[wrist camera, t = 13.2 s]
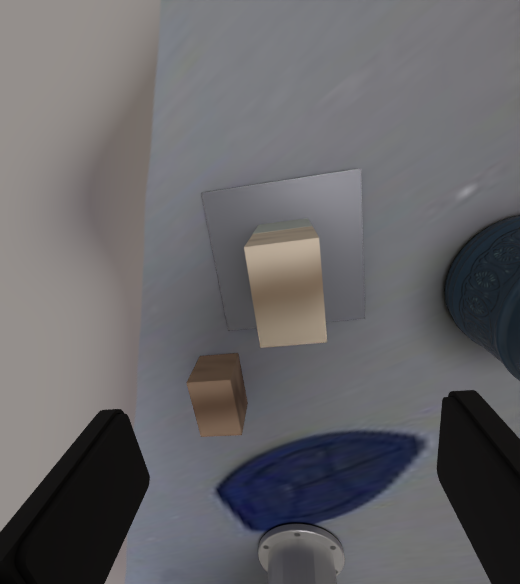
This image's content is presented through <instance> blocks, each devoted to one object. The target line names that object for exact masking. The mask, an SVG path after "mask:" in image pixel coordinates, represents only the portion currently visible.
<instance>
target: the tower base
mask: <svg viewBox="0 0 520 584" xmlns="http://www.w3.org/2000/svg"><path fill="white" fill-rule="evenodd" d="M201 195H202V200H203V205H204V210H205V215H206V220H207V225H208V230H209V235H210V240H211V246H212V251H213V256H214V261H215V266H216V271H217V276H218V281H219V286H220V291H221V296H222V301H223V306H224V311H225V316H226V321H227V326H228V331H233V330H244V329H255V328H257V324H256V318H255V312H254V305H253V299H252V293H251V287H250V281H249V275H248V269H247V263H246V257H245V251H244V246H245V245H246V243H247V242H248V240H249V239H250V237H251V236H252V234H256V233H263V232H271V231H278V230H286V229H293V228H301V227H308V226H313V228H314V230H315V231H316V233H317V235H318V237H319V243H320V256H321V269H322V281H323V294H324V307H325V320H326V322H334V321H345V320H357V319H365V297H364V260H363V223H362V186H361V168H360V169H353V170H347V171H340V172H334V173H327V174H321V175H314V176H307V177H301V178H294V179H288V180H281V181H275V182H268V183H262V184H255V185H248V186H242V187H235V188H229V189H222V190H216V191H209V192H203V193H201Z"/></svg>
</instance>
